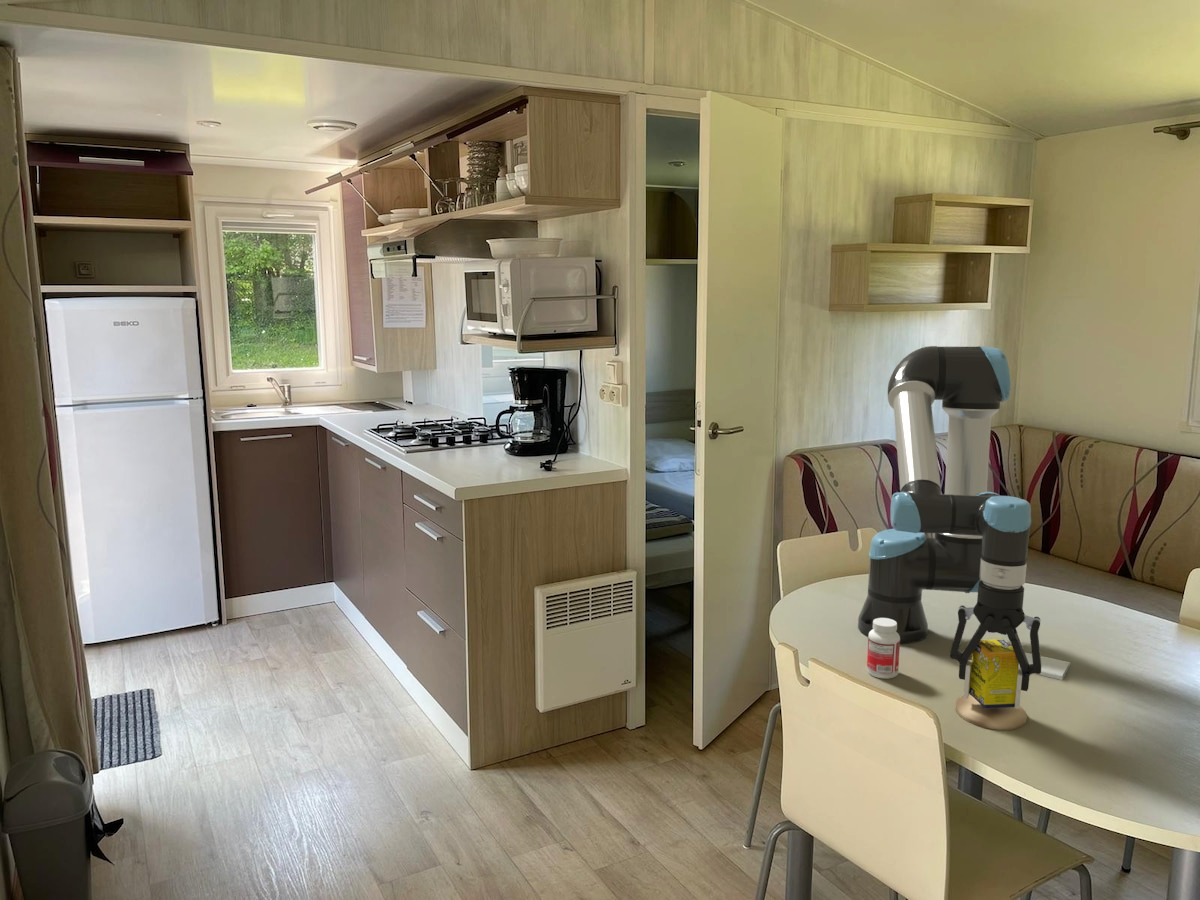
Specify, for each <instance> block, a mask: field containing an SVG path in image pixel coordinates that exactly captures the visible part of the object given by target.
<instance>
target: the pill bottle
mask: <svg viewBox="0 0 1200 900" xmlns="http://www.w3.org/2000/svg"><path fill="white" fill-rule="evenodd" d="M896 630H897V622H896V621H894V620H892V619H889V618H877V619H874V620H873V629H872V630H871V631H870V632H869V635H868V636H867V637H868V638H867V657H866V658H867V659H866V670H867V671H866V672H868V674H869V675H870V676H872V677H875V678H878V679H882V680H883V679H893V678H895V677H897V676H898V674H899V667H900V664H899V663H900V646H901V643H900V636H899V634H898V633H897V632H896Z"/></svg>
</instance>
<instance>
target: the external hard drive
mask: <svg viewBox="0 0 1200 900" xmlns="http://www.w3.org/2000/svg"><path fill="white" fill-rule="evenodd" d="M1025 655H1026V657H1027V660H1028V663H1029V664H1033V659H1032V653H1029V652H1025ZM1040 656H1041V673H1040V674H1036V673H1034V674H1033V675H1039V676H1042V677H1048V678H1052V679H1055V680H1060V681H1063V680H1064V678H1065V676H1066V674H1067V672H1068V670H1069V669H1070V668H1071V667H1070V666H1071V662H1070V661H1066V660H1061V659H1058V658H1051V657H1046V656H1044V655H1043V656H1042V655H1040ZM1018 669H1021V668H1020V665H1019V667H1018Z"/></svg>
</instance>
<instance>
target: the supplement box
mask: <svg viewBox="0 0 1200 900" xmlns="http://www.w3.org/2000/svg"><path fill="white" fill-rule="evenodd" d="M971 661H972V664H971V676H970V689H969V695H971V696H973V697H974V698H975V699H976V700H977V701H978V702H979V703H980V704H981V705H982V706H983V707H984V708H985V709H989V708H1009V707H1015V698H1016V687H1017V676H1018V667H1019V663H1018V660H1017V657H1016V655H1015V652H1014V650H1013V647H1012V645H1011V644H1009V643H1008V642H1007V641H1006V640H1005V639H1003V638H998V639H997V638H995V639H992V638H991V639H981V640H980V642H979V644H978V645H977V647H976V648H975V650H974V651H973V653H972V655H971Z"/></svg>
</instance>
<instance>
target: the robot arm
mask: <svg viewBox="0 0 1200 900" xmlns="http://www.w3.org/2000/svg"><path fill="white" fill-rule="evenodd" d="M1010 391H1011V374H1010V365H1009V363H1008V359H1007V357H1006V355H1005V353H1004V351H1003V350H1001V349H1000V348H997V347H991V346H981V345H979V346H937V345H931V346H930V345H929V346H924V347H921V348H918V349H915V350H913V351H911V352H910V353H909V354H907V355H906V356H904V357H903V358H902V360H900V362H899V363H898V364H897V365H896V367H895V368H894V370H893V371H892V374H891V376H890V378H889V381H888V385H887V401H888V405H889V406H890V407H891V408H892V409H893V416H894V425H895V426H894V427H895V440H896V441H895V442H896V454H897V466H898V478H899V479H898V480H899V490H900V492H899V491H898V492H894V493H893V494H892V496H891V499H890V508H889V509H890V518H889V519H890V524H891V527H892V528H890V529H884V530H882V531H879V532H877V533H875V534H874V535H873V536H872V538H871V542H870V547H869V553H868V557H869V564H868V565H869V567H868V569H869V570H868V582H867V583H868V584H867V596H866V599H865V601H864V603H863V605H862V608H861V610H860V613H859V615H858V619H857V622H858V623H857V628H858V630H859V631H860V632H861V633H862V634H863V635H865V636H867V637H868V635H869V632H870V631H871V630H872V629H873V620H874V619H877V618H889V619H892V620H894V621H896V622H897V630H896V632H897V633H898V634H899V636H900V644H908V643H909V644H910V643H917V642H920V641H922V640H924V639H925V638H927V637H928V629H929V627H928V621H927V617H926V614H925V611H924V607H923V601H922V594H923V590H925V591H927V590H928V591H929V590H930V591H941V592H943V591H944V592H958V593H965V594H969V593H977V598H976V599H977V600H976V601H977V602H976V604H975V606H972V607H969V606H968V607H966V606H965V605H959V607H958V610H957V616H958V617H957V618H958V624H957V627H956V630H955V634H954V637H953V642H952V644H951V645H952V646H951V647H950V652H949V658H950V659H952V660H955V661H958V663H959V668H958V678H959V680H963V681H964V688H963V696H964V697H963V698H965V699H968V696H969V695H970V694H969V689H970V676H971V664H972V659H971V660H970V658H971V657H972V653H973V651H974V650H975V648H976V647H977V645H978V644H979V642H980V640H983V638H984V636H985V634H986V633H993V634H994V633H996V634H997V633H998V634H1000V635H1004V636H1007V638H1008V640H1009V642H1010V645H1011V646H1012V647H1013V650H1014V652H1015V655H1016V657H1017V660H1018V663H1019V665H1020V668H1021V669H1018V676H1017V687H1016V698H1015V708H1016V709H1019V706H1021V705H1020V704H1021V693H1022V691H1024V692H1028V690H1029V684H1030V676H1031V675H1038V674H1040V673H1041V656H1042V655H1041V649H1040V648H1041V647H1040V638H1039V630H1040V627H1041V618H1040V617H1039V616H1034V617H1032V616H1028V615H1026V613H1025V612H1024V610H1023V607H1024V606H1023V605H1024V597H1025V587H1024V585H1025V583H1026V574H1027V573H1026V572H1027V565H1028V564H1027V561H1028V550H1029V549H1028V548H1029V541H1030V532H1031V531H1030V530H1031V525H1032V516H1031V515H1032V513H1031V511H1032V506H1031V503H1029V501H1027V500H1026V499H1023V498H1020V497H1015V496H1011V495H1000V494H998V493H996V492H991V491H988V478H989V462H990V445H991V443H990V442H991V432H992V431H991V429H992V426H991V425H992V418H993V416H994V415H995V414H997V413H998V412H999V411H1000V408H1001V403H1004V402H1007V401H1008V400H1009V397H1010ZM935 401H942V402H941V403H942V404H941V409H942V410H943V411H944V412H945V413H946V414H947V415H948V429H947V431H948V432H947V445H946V466H945V481H944V484H945V485H944V493H942V485H941V477H940V470H939V469H940V468H939V459H938V450H937V443H936V434H935V425H934V417H933V416H934V415H933V407H932V405H933V404H934V402H935ZM926 534H934V537H927V535H926ZM972 615H974V616H975V618H976V619H977V621H978V622H979V623H980V624H979V625H978V627H977V629H976V631H974V634H973V636H972V637H971V639H970V640H969V641H968V644H967V645H966V647H964V649H963V651H959V649H960V645H961V643H962V639H963V635H964V631H965V629H966V625H967V622H968V621H969V620H970V619H971V618H972ZM1023 623H1025V625H1026V626H1025V627H1026V629H1027V630H1030V631H1029V638H1030V647H1031V648H1030V649H1031V654H1032V659H1033V664H1029V663H1028V660H1027V657H1026V655H1025V653H1026V652H1025V649H1024V647H1023V645H1022V643H1021V640H1020V636H1019V632H1018V630H1017V628H1018V627H1019V626H1020V625H1021V624H1023ZM1034 673H1036V674H1034Z"/></svg>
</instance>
